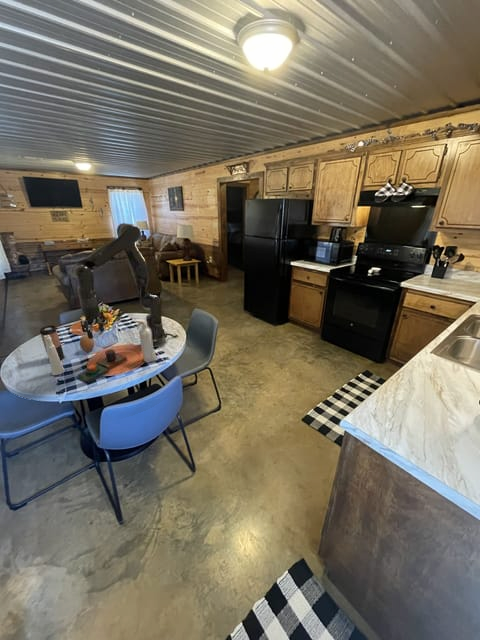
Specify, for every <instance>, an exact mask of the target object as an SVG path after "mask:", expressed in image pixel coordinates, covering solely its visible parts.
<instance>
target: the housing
mask: <svg viewBox="0 0 480 640" xmlns="http://www.w3.org/2000/svg"><path fill="white" fill-rule="evenodd" d="M94 365H95V366H96V369H95V370H93V371H88V367H86V368H85V369H84V371H82V372H80V373H78V374H77V378H78V379H80V380H81V381H84V382H86V383H88V384H90V383H91V382H94V381H95V380H97V379H99V378H101V377H103V376H104V375H106V374H108V373H109V371H108V369H106V368H104V367H102V366H100V365H97V364H94Z"/></svg>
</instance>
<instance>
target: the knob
mask: <svg viewBox="0 0 480 640" xmlns="http://www.w3.org/2000/svg"><path fill="white" fill-rule="evenodd" d="M115 353H116V350H115V349H106V351H104V355H105V357H106V360H107V361H108V362H111V361H114V360H116V355H115Z"/></svg>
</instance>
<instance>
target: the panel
mask: <svg viewBox="0 0 480 640" xmlns="http://www.w3.org/2000/svg"><path fill="white" fill-rule="evenodd" d="M115 355H116V360H114V361H111V362H108V361H107V360H106V356H105V357H103V358H101V359H99V360H97V361H96V365H100V366H102V367H104V368H106V369H108V372H109V371H110V370H112V369H114V368H116V367H118V366H120V365H121V364H123V363H126V362H127V361H128V359H127V356H125V355H122V354H119V353H118V352H115Z"/></svg>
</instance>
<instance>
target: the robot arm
mask: <svg viewBox="0 0 480 640" xmlns="http://www.w3.org/2000/svg"><path fill="white" fill-rule="evenodd" d="M116 234H117V238H115V239H113V240H112V241H110V242H108V243H106V244H103V245H102V246H100V247H98V248H97V249H95V250H94V251H93V252H92V253H91V254H89V255H88V256H87V257H84V258H83V259H81V260H79V261H78V262H76V263H75V264H73V266H72V267H71V270H70V274H71V276H72V277H73V278H74V279H77V281H78V285H77V288H76V289H77V295H78V297H79V304H80V308H81V312H82V315H83V317H84V318H85V319H83V320H80V325H81V330H82V332H83V333H86V335H88V338H89V339H94V334H93V331H92V330H93V329H94V327H95V325H96V324H97V325H98V329H99V332H105V326H104V323H106V316H105V314H104V311H101V310H100V306H99V302H98V298H97V295H96V291H95V288H94V285H95V278H94V272H93V271H94V270H96V269H100V268H102V267H103V266H104V265H106V263H108V262H109V261H110V260H111V259H112V258H114V257H116V256H117V255H118V254H119V253H120V252H122V251H124V253H125V257H126V260H127V262H128V265H129V269H130V272H131V274H132V277H133V279H134V283H135V286H136V290H137V294H138V298H139V303H140V306H141V307H142V308H143V309H144V310H147V311H148V310H149V311H150V313H149V314H147V315H146V316H145V320H146V322H147V324H146V326H148V327H149V328H151V331H152V342H153V348H161V347H163V346H164V345H165V344H166V343H167V341H166V339H167V338H168V336H171V337H173V338H177V337H178V334H175V335H173V334H172V333H167V332H165V329H164V326H163V318H162V317H163V316H162V315H163V305H162V299H161V298H160V296H158V295H155V294H154V295H153V294H150V290H149V288H148V284H149V281H150V275H151V274H150V270H149V266H148V264H147V262H146V260H145V257H143V255H142V253H141V252H140V250H139V249H138V247H137V245H136V243H137V242H138V241H139V240H140V239H141V236H142V231H141V228H139V226H138V225H136V224H134V223H125V222H123V223H120V224H118V225H117V227H116ZM149 328H148V329H149Z"/></svg>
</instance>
